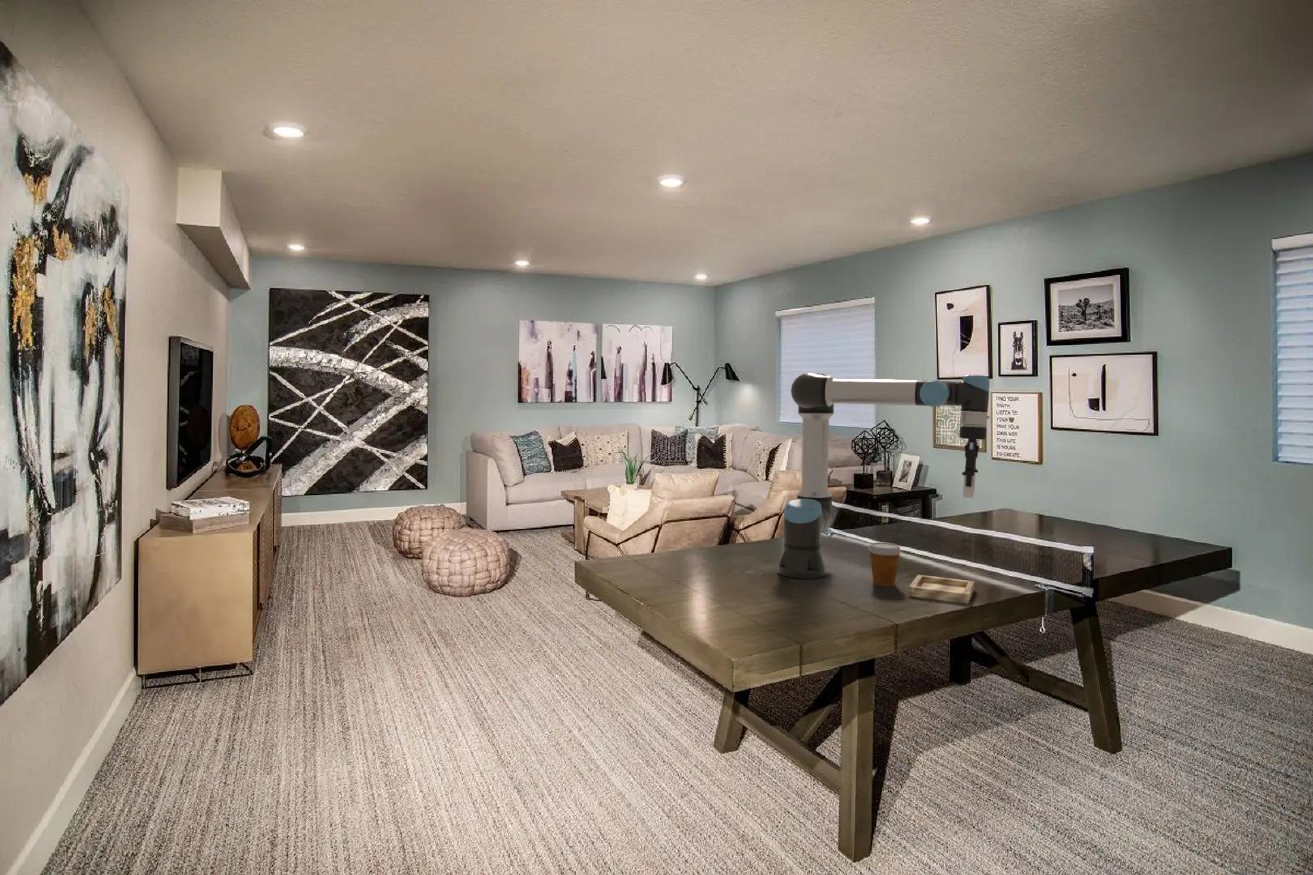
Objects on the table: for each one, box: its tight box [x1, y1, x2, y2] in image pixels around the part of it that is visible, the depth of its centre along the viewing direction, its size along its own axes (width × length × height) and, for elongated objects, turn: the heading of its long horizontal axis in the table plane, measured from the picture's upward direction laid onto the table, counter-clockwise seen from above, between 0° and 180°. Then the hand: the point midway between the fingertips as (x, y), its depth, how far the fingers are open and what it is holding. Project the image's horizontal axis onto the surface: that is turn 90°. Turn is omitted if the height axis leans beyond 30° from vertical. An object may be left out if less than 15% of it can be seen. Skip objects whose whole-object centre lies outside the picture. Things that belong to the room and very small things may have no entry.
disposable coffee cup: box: [868, 542, 902, 587], centre depth 227 cm, size 10×10×12 cm
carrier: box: [908, 574, 975, 605], centre depth 218 cm, size 16×16×3 cm
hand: (968, 495), depth 227 cm, fingers open, 13 cm apart
